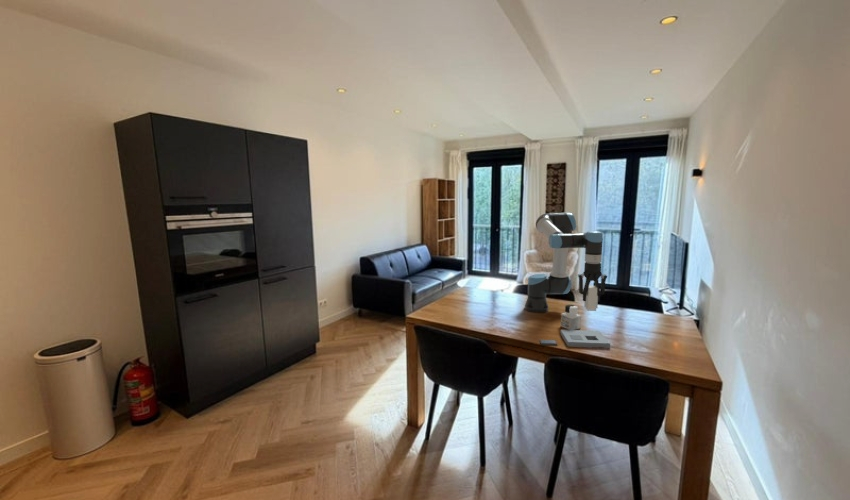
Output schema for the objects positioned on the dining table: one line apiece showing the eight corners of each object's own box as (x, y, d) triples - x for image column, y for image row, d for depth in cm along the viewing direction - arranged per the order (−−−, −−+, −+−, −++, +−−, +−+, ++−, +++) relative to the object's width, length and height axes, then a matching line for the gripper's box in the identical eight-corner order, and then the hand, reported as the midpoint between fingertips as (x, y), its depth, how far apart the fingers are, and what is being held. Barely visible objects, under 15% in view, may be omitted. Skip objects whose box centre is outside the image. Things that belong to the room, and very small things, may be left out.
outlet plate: (560, 333, 189) (560, 329, 189) (598, 335, 186) (599, 330, 186) (567, 346, 174) (568, 341, 173) (610, 348, 171) (610, 343, 170)
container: (560, 326, 201) (561, 304, 199) (570, 323, 203) (571, 302, 201) (570, 330, 194) (571, 308, 192) (580, 328, 196) (582, 306, 194)
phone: (539, 341, 181) (539, 339, 181) (555, 341, 180) (555, 340, 179) (541, 344, 177) (541, 343, 176) (557, 345, 175) (557, 343, 175)
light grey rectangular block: (585, 308, 177) (586, 285, 175) (593, 308, 177) (594, 285, 175) (587, 310, 173) (588, 287, 172) (596, 310, 173) (597, 287, 171)
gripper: (576, 263, 169) (575, 309, 173) (614, 263, 166) (611, 310, 170) (573, 260, 176) (571, 304, 180) (608, 261, 174) (606, 305, 177)
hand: (590, 307), depth 175 cm, fingers closed on light grey rectangular block, 4 cm apart
